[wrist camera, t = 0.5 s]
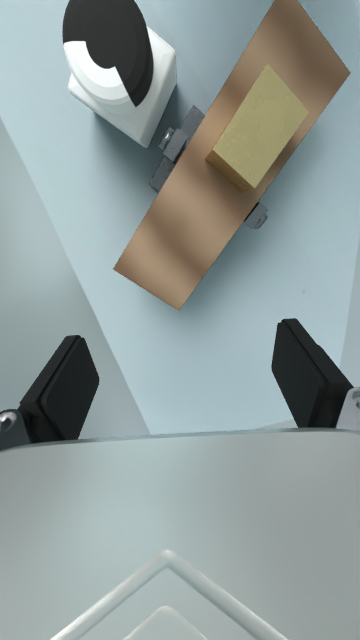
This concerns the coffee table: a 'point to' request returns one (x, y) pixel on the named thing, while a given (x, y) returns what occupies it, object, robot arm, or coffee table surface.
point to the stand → (174, 148)
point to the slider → (257, 131)
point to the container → (118, 65)
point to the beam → (205, 181)
